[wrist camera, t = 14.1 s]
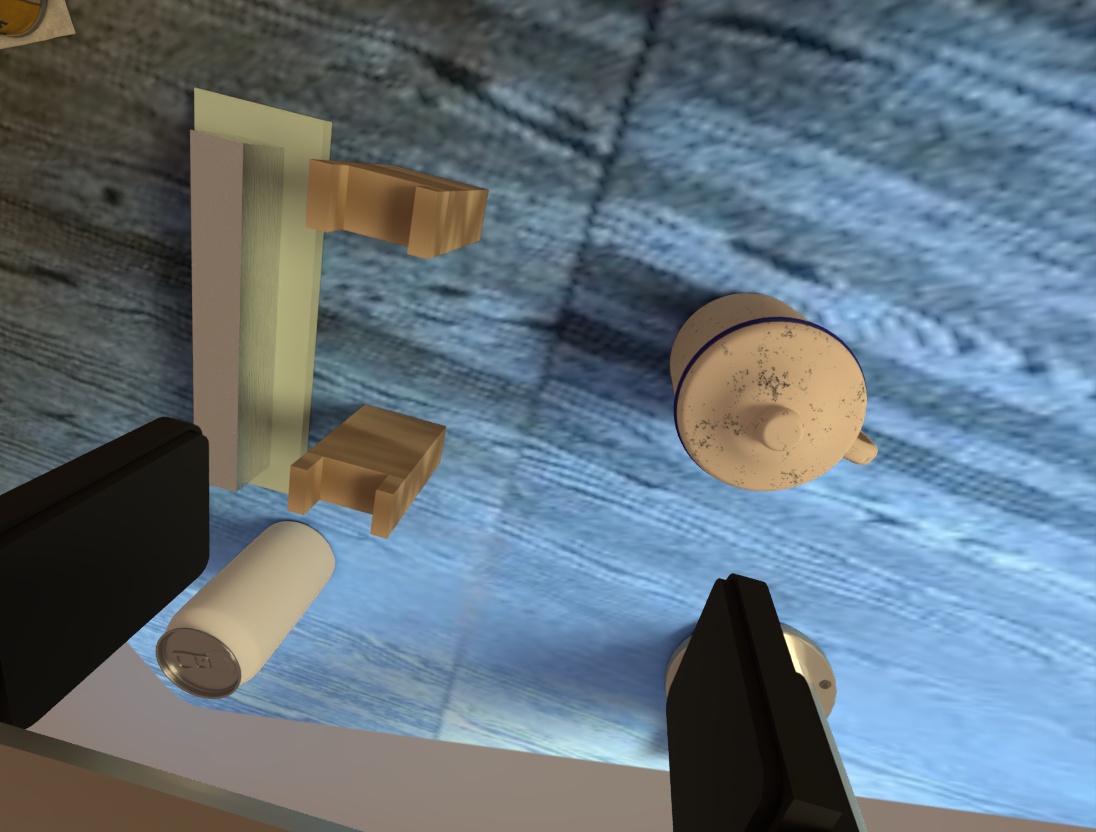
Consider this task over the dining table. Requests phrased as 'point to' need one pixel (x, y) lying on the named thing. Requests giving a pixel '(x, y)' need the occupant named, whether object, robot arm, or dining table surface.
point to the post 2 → (369, 466)
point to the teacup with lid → (766, 394)
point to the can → (245, 611)
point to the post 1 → (394, 206)
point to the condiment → (33, 21)
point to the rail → (235, 299)
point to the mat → (284, 264)
